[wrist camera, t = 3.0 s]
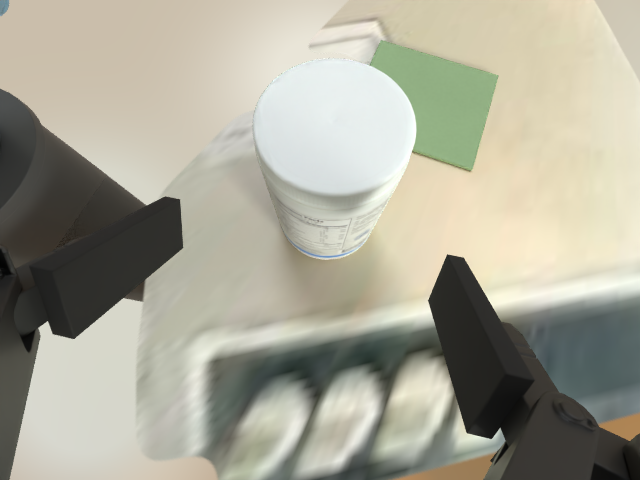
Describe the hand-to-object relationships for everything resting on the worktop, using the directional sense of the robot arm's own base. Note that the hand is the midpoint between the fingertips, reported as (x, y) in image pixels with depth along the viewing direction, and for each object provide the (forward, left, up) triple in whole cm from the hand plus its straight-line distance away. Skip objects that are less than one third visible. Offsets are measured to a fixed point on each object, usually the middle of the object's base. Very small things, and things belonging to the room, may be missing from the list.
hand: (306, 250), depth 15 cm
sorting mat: (+4, +26, -14) cm, 29 cm away
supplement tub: (-1, +8, -14) cm, 16 cm away
